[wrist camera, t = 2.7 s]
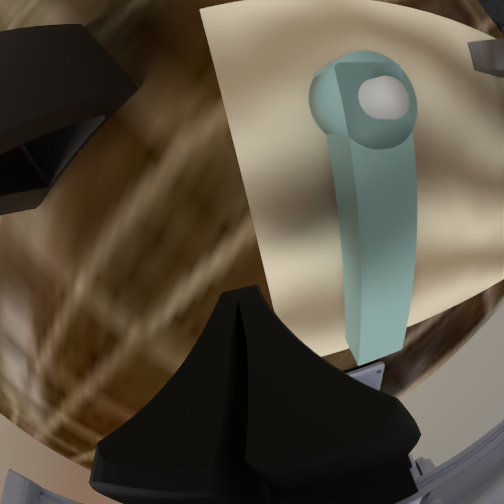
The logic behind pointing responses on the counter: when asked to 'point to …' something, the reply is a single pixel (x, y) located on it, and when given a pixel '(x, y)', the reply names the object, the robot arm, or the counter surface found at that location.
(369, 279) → the link
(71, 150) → the phone stand
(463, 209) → the keeper board
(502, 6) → the dark grey cloth
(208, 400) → the robot arm
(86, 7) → the counter surface
